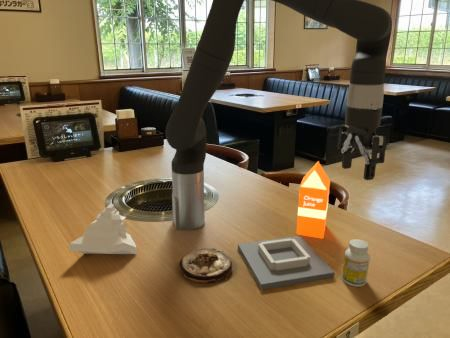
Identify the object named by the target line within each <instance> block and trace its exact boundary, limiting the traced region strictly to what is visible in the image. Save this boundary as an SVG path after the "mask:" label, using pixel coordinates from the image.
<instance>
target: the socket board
mask: <svg viewBox="0 0 450 338" xmlns="http://www.w3.org/2000/svg"><path fill="white" fill-rule="evenodd" d="M237 250H238V252H239V254H240V255H241V257H242V258H243V260H244V262H245V264H246V266H247V268H248V269H249V271H250V273H251V275H252V276H253V279H254V280H255V282H256V283H257V285H258V287H259V289H260V290H261V291H263V290H264V291H265V290H268V289H275V288H281V287H287V286H293V285H294V286H295V285H299V284H304V283H312V282H316V281H323V280H328V279H334V278H335V271H334V270H333V269H332V267H330V266H329V265H328V263H327V262H326V261H325V260H324V259H323V258H322V257H321V256H320V255H319V254H318V253H317V252H316V251H315V250H314V249H313V248H312V246H310V244H309V243H308V241H306V240H305V239H304V238H303V237H302V235H295V236H294V235H293V236H288V237H287V236H286V237H280V238H279V237H278V238H272V239H266V240H265V239H264V240H258V241H249V242H244V243H243V242H242V243H241V242H240V243H237Z"/></svg>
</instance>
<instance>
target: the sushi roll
mask: <svg viewBox="0 0 450 338" xmlns="http://www.w3.org/2000/svg"><path fill="white" fill-rule="evenodd" d="M179 265H180V266H179V267H180V270H181V275H182V276H183V277H184V278H185V279H186V280H187V281H190V282H193V283H198V284H201V283H202V284H204V283H207V284H210V283H215V284H217V282H218V281H219V280H222V279H225V280H227V281H228V280H229V279H228V276H230V275H231V273H232V270H233V263H232V261H231V259H230V256H229V255H228V254H227V253H226V252H224V251H223V250H222V251H220V250H217V248H213V247H212V248H201V249H196V250H193V251H190V252H188V253H187V254H184V255H183V257H182V258H181V260H180V262H179Z"/></svg>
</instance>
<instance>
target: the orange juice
mask: <svg viewBox="0 0 450 338" xmlns="http://www.w3.org/2000/svg"><path fill="white" fill-rule="evenodd" d="M330 186H331V179H330V178H329V176H328V175H327V173H326V171H325V169H324V168H323V167H322V165H321V164H320V161H316V163H315V164H314V165H313V166H312V167H311V168H310V169H309V171H307V173H306V174H305V175H304V176H303V178H302V180H301V182H300V185H299V193H298V205H297V222H296V233H295V234H296V236H304V237H311V238H316V239H324V236H325V231H326V226H327V218H328V217H327V215H328V208H329V195H330Z"/></svg>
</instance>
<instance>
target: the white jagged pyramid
mask: <svg viewBox="0 0 450 338" xmlns="http://www.w3.org/2000/svg"><path fill="white" fill-rule="evenodd" d="M126 217H127V216H124V215H121V214H120V210H118V209H116V206H115V204H114V203H112V202H110V203H108V205H107V206H106V207H105V208H104V210H102V211H101V212H99V213H98V215H97V216H96V219H95V220H94V221H92V222H91V223H90V224H89V225H88V226H87V227H86V228H85V229H84V233H83V235H81V236H80V237H78V238H77V239H74V240H73V241H70V243H69V246H68V247H69V248H68V251H71V252H74V253H75V252H76V253H79V254H85V255H89V254H91V255H137V250H138V248H137V245H136V243H135V241H134V240H133V238H132V235H131V234H129V233H128V232H127V228H128V227H127V226H128V225H127V224H126V223H125V224H124V222H125V219H126Z"/></svg>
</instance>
